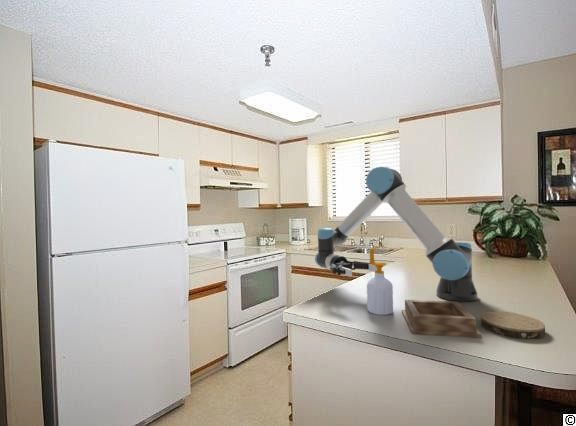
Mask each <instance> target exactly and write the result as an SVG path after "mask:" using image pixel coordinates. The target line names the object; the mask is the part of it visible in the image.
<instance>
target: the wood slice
mask: <svg viewBox="0 0 576 426" xmlns="http://www.w3.org/2000/svg"><path fill="white" fill-rule="evenodd" d="M480 325H481V327H482V328H483V329H485V330H486V331H488V332H489V333H493V334H496V335H499V336H502V337H506V338H512V339H517V340H528V341H531V340H532V341H533V340H541V339H543V338H544V337H545V336H546V325H545V323H544V322H543V321H540V320H539V319H538V318H536V317H535V318H534V317H532V316H528V315H525V314H521V313H515V312H509V311H498V310H497V311H495V310H494V311H486V312H483V313H480Z"/></svg>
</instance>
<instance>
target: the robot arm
mask: <svg viewBox="0 0 576 426" xmlns="http://www.w3.org/2000/svg"><path fill="white" fill-rule="evenodd" d="M365 183H366V186H367V188H368V190H369V191H370V192H369V193H368V194H367V195H366V196H365V198H363V199H362V201H360V202H359V204H358V205H357V206H356V207H355V208H354V209H353V210H352V211H351V212H350V213H349V214H348V215H347V216H346V217H345V218H344V219H343V220H342V221H341V222H340V224H339V225H337V226H336V228H335V229H333V228H332V227H331V228H330V227H323V228H322V227H321V228H319V229H318V231H317V245H318V246H317V247H318V248H317V249H318V252H317V253H316V254H315V256H314V262H315V264H316V265H317V266H319V267H320V268H323V269H327V270H330V271H331V272H332V274H333V275H336V274H337V276H342V275H344V276H346V277H349V278H352V277H353V271H355V270H366V271H367V270H368V271H370V272H372V273H373V272H374V273H375V271H377V267H375V265H371V263H370V262H365V261H357V260H354V261H351V260H348V259H347V258H346V257H345V256H343V255H340V254H335V253H334V252H335V251H334V250H335V246H340V245H342V244H345V243H346V242H347V240H348V238H349V237H350V235H352V233H354V232H355V231H356V230H357V229H358V227H359V226H360V225H362V224H363V223H364V222H365V221H366V220H367V219H368V217H370V216H371V215H372V214H373V213H374V212H375V210H377V209H378V208H379V207H380V206H381V205H382V204H384V203H385V204H388V205H389V206H390V207H391V209H392V210H393V211H394V212H395V214H397V216H398V217H399V218H400V220H401V221H402V223H404V225H405V226H406V227H407V229H408V230H410V232H411V233H412V235H413V236H414V237H415V238H416V239H417V240H418V242H419V243H420V244H421V245H422V246H423V248H424V249H425V256H426V258H427V259H428V260H429V262H431V263H430V264H432V267H433V270H434V271H435V273H436V274H437V275H438V277H440V279H439V281H438V284H437V288H436V296H437V297H439V298H440V299H444V300H446V301H455V302H475V301H477V300H479V299H478V291H477V289H476V286H475V283H474V281H473V263H472V262H473V261H472V260H473V259H472V258H473V257H472V256H473V255H472V254H473V253H472V252H473V249H472V244H471V243H469V242H462V241H461V242H459V241H457V242H456V241H455V240H454V239H453V238H452V237H446V236H445V235H444V234H443V233H442V231H440V229H439V228H438V227H437V226H436V225H435V223H434V222H433V221H432V220H431V219H430V218H429V216H428V215H427V214H426V212H424V210H422V208H421V207H420V206H419V205H418V204H417V202H416V201H415V200H414V199H413V198H412V197H411V196H410V194H409V193H408V192H407V191H406V187H407V185H406V183H404V181H403V178H402V175H401V174H400V172H399V171H397V170H396V169H393V168H390V167H388V166H386V165H379V166H376V167H373V168H372V169H371V170H369V172H368V174H367V175H366V179H365Z"/></svg>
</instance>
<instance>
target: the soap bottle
mask: <svg viewBox="0 0 576 426" xmlns="http://www.w3.org/2000/svg"><path fill="white" fill-rule="evenodd" d="M384 246H385V244H383V245H382V244H381V245H379V246H378V245H377V246H375V247H373V248H371V249H370V250H369V263H371V265H375V267H377V271H375V272H374V277H372V278H371V279H369V280H368V282H367V285H366V295H367V296H366V297H367V298H366V299H367V305H366V306H367V311H368V312H369V313H371V314H374V315H377V316H378V315H379V316H388V315H391V314H393V313H394V296H393V295H394V294H393V293H394V291H393V289H394V287H393V283H392V282H391V281H390V279H387V278H386V277H385V270H383V269H382V268H383V267H384V266H386V265H387V263H386V262H378V261H376V260H375V250H376V249H379V248H382V247H384Z"/></svg>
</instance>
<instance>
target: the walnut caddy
mask: <svg viewBox="0 0 576 426" xmlns="http://www.w3.org/2000/svg"><path fill="white" fill-rule="evenodd" d="M401 314H402V316H403V318H404V320H405V322H406V324H407V326H408V329H409V330H410V333H411V334H412V335H428V336H429V335H430V336H431V335H432V336H446V337H447V336H448V337H461V338H462V337H463V338H464V337H467V338H479V339H480V338H481V339H482V337H483V335H482V333H481V332H480V331H479V330H478V329H477V318H475V317H474V316H473V315H472V314H471V313H470V312H469V311H468V310H467V309H465V308H464V307H463V306H462V305H461V304H460V303H459V301H453V300H426V299H425V300H424V299H423V300H422V299H420V300H419V299H404V309H401Z"/></svg>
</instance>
